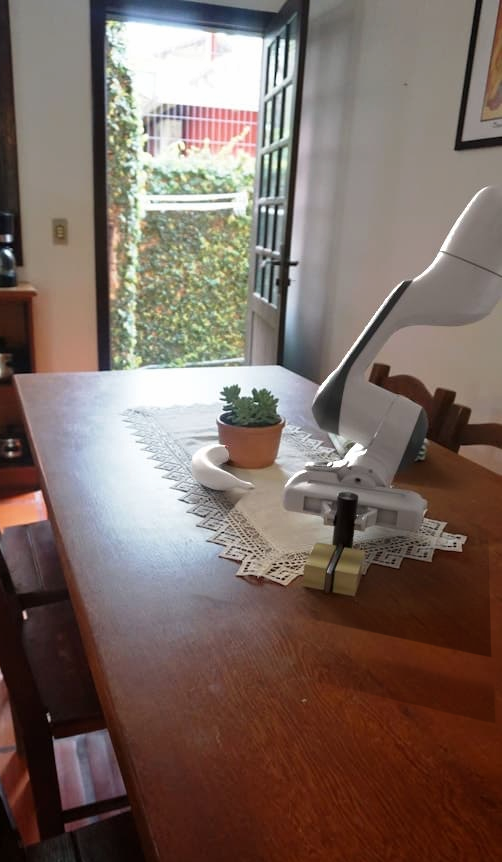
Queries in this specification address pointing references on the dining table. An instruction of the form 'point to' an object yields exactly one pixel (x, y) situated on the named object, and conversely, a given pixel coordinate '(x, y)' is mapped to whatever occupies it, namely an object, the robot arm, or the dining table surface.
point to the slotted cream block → (345, 571)
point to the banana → (214, 469)
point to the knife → (342, 530)
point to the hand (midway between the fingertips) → (343, 523)
